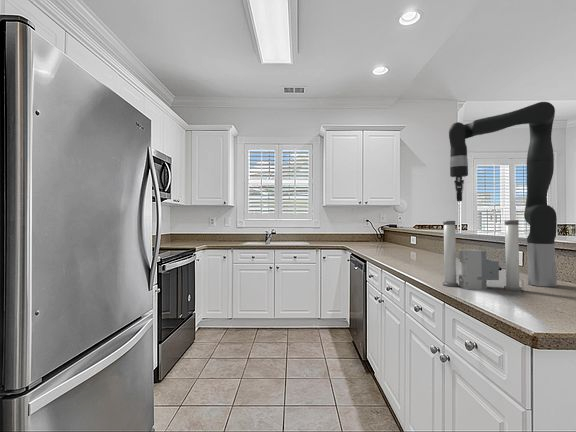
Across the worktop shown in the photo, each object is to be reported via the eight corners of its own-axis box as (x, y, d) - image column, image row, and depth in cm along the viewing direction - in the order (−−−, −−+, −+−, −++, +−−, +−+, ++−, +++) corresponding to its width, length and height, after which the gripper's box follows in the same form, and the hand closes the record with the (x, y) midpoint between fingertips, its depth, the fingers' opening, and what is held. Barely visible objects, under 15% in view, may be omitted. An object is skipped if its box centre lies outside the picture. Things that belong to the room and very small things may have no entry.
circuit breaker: (503, 290, 135) (503, 251, 135) (464, 288, 138) (463, 251, 138) (496, 286, 143) (495, 249, 143) (458, 285, 145) (458, 249, 146)
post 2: (521, 289, 137) (519, 220, 137) (523, 291, 131) (521, 220, 132) (503, 287, 139) (501, 220, 140) (504, 290, 134) (503, 220, 134)
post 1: (458, 284, 147) (457, 220, 147) (458, 287, 141) (457, 220, 142) (443, 283, 149) (441, 220, 150) (442, 286, 144) (441, 220, 145)
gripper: (467, 163, 155) (468, 199, 155) (467, 167, 168) (468, 201, 167) (449, 164, 158) (449, 200, 158) (450, 168, 171) (451, 201, 171)
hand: (459, 200), depth 163 cm, fingers open, 8 cm apart
